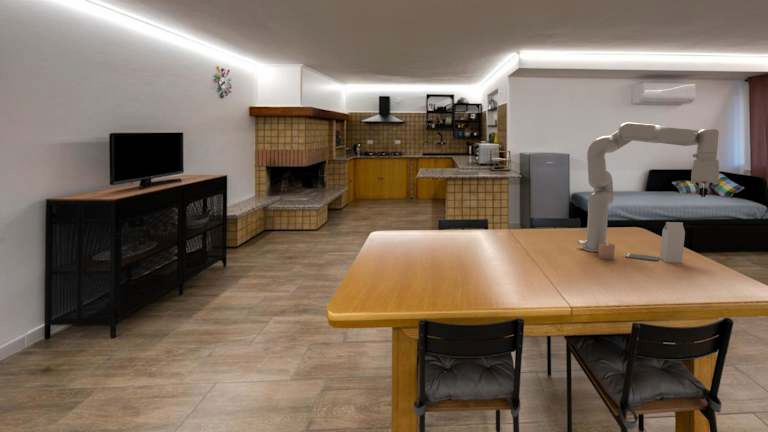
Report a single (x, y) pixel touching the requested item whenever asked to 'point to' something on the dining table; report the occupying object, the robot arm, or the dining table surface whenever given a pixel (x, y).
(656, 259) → the grey flat bar
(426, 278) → the dining table surface
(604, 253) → the tan block
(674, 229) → the milk carton
